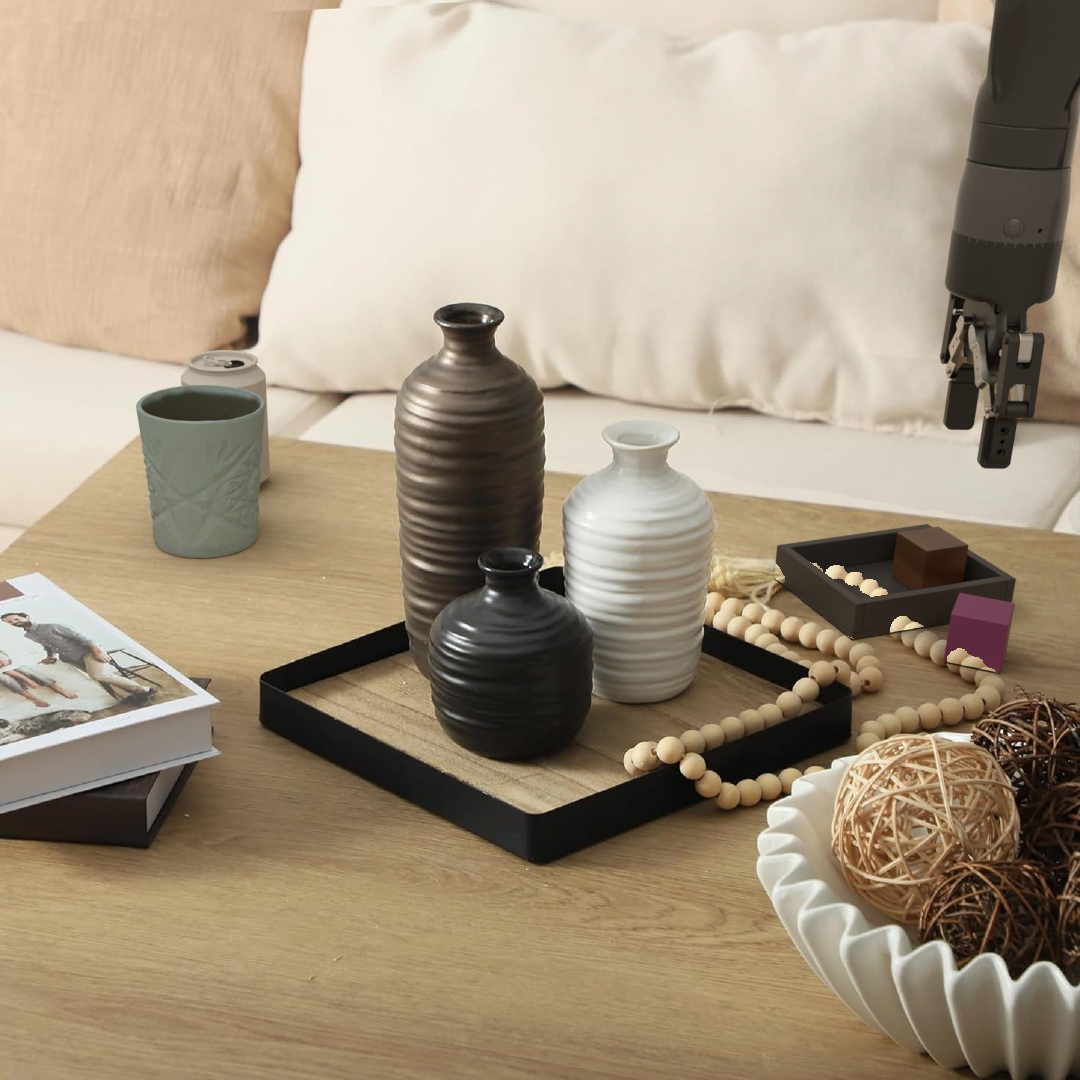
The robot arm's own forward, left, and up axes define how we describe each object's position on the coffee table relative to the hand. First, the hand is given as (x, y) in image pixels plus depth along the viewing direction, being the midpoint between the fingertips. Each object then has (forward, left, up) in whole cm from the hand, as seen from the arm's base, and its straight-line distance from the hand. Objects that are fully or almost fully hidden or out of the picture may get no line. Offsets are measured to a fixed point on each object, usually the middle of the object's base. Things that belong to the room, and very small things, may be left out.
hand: (974, 446), depth 109 cm
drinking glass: (+51, -33, -14) cm, 62 cm away
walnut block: (-1, -5, -14) cm, 14 cm away
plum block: (+2, +6, -14) cm, 16 cm away
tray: (+2, -5, -14) cm, 15 cm away
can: (+47, -45, -14) cm, 67 cm away
